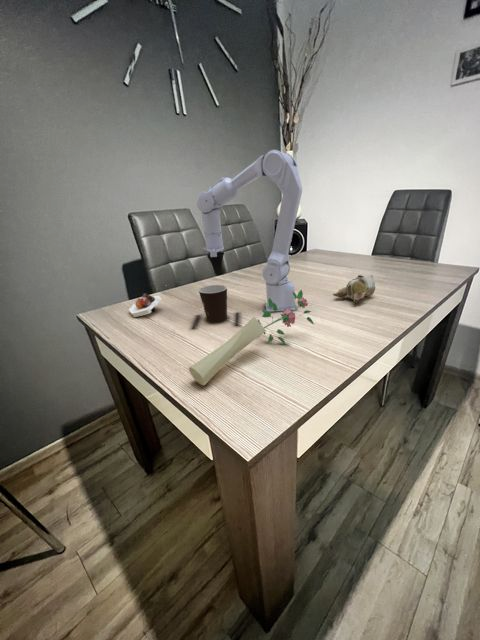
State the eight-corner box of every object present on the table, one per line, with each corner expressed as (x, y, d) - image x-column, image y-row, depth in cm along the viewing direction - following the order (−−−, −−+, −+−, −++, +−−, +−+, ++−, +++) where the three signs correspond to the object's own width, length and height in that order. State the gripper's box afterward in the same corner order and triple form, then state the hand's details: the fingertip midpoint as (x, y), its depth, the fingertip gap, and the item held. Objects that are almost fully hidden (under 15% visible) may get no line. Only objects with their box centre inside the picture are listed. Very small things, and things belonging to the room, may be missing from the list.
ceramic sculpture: (386, 272, 94) (357, 284, 87) (383, 296, 98) (355, 309, 91) (360, 268, 101) (332, 278, 95) (358, 290, 106) (331, 301, 99)
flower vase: (203, 401, 64) (290, 323, 82) (232, 413, 55) (323, 321, 73) (176, 361, 60) (274, 287, 77) (203, 367, 50) (308, 281, 68)
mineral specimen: (171, 305, 96) (160, 287, 92) (145, 325, 91) (132, 307, 87) (156, 301, 104) (145, 284, 100) (131, 319, 99) (118, 303, 95)
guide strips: (238, 313, 92) (238, 312, 92) (238, 325, 83) (238, 324, 83) (197, 316, 91) (196, 315, 91) (192, 328, 83) (192, 327, 83)
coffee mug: (226, 324, 84) (222, 293, 79) (199, 324, 86) (194, 293, 81) (235, 310, 94) (232, 282, 89) (211, 310, 95) (207, 282, 91)
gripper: (203, 231, 97) (209, 270, 104) (198, 236, 85) (204, 280, 91) (223, 230, 98) (227, 268, 104) (220, 235, 85) (225, 278, 92)
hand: (218, 274), depth 98 cm, fingers closed
